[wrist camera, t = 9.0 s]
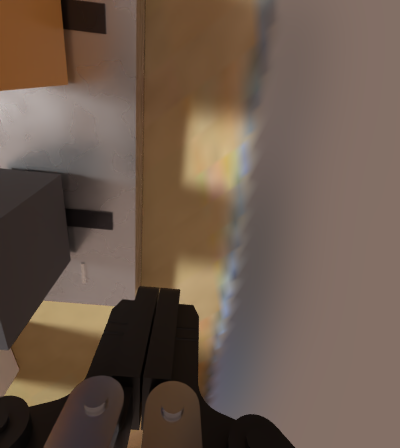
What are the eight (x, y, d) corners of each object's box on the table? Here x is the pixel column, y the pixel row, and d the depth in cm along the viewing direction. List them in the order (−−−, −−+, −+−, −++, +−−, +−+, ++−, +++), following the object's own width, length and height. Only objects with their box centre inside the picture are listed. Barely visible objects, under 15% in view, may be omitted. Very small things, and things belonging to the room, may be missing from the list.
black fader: (-4, 167, 14) (-134, 229, 9) (60, 174, 14) (-28, 238, 9) (15, 255, 16) (-79, 348, 11) (70, 260, 16) (5, 355, 11)
